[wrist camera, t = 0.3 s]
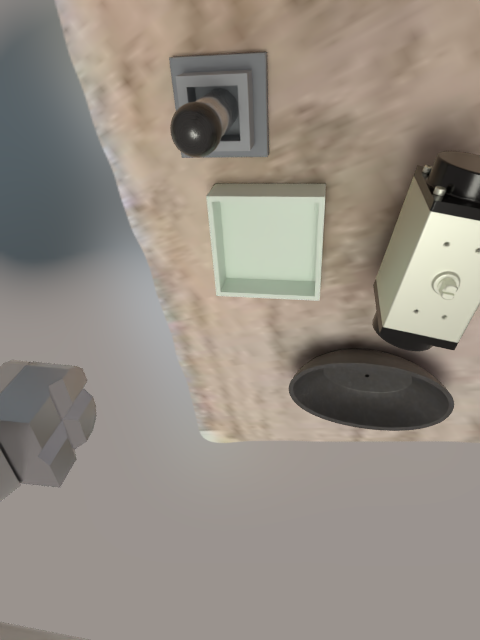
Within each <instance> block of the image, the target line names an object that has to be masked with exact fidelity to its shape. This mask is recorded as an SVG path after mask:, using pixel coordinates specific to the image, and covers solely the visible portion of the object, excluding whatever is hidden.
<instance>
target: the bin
mask: <svg viewBox="0 0 480 640" xmlns="http://www.w3.org/2000/svg"><path fill="white" fill-rule="evenodd" d="M325 193H326V184H215V185H214V186H213V188H212V189H211V190H210V192H209V193H208V195H207V196H206V197H207V207H208V217H209V227H210V237H211V247H212V257H213V266H214V276H215V286H216V296H231V297H252V298H273V299H294V300H315V301H320V285H321V267H322V248H323V230H324V212H325Z"/></svg>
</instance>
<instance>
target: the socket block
mask: <svg viewBox="0 0 480 640" xmlns="http://www.w3.org/2000/svg"><path fill="white" fill-rule="evenodd" d="M169 60H170V68H171V76H172V84H173V92H174V100H175V108H176V111H177V110H178V109H179V108H180V107H181V106H182V105H184V104H186V103H189V102H195V101H197V100H198V99H200V98H201V97H203V96H204V95H206V94H207V93H209V92H210V91H212V90H214V89H225V90H227V91H229V92H230V93H231V94H233V96H234V97H235V98H236V100H237V103H238V108H239V112H238V117H237V119H236V121H235V123H234V124H233V125H232V126H231V127H230V128H229V129H228V131H227V132H226V133H225V134H224V135H223V136H222V137H221V140H220V143H219V145H218V146H217V148H216V149H215V150H214V151H213V152H212V153H211V154H209V155H207V156H204V157H268V155H269V135H268V81H267V52H256V53H237V54H217V55H198V56H179V57H170V58H169ZM181 155H182V158H196V157H190V156H188V155H186V154H184V153H182V152H181Z"/></svg>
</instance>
